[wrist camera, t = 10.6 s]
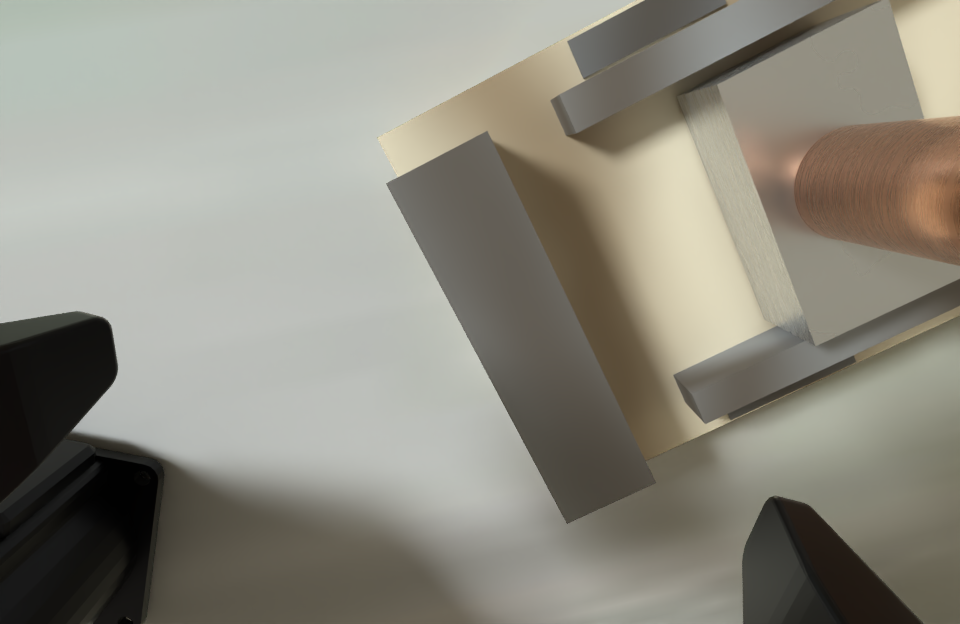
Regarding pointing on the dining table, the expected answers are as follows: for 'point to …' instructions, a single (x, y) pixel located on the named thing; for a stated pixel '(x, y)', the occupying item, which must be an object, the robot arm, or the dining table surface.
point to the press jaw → (831, 175)
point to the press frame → (627, 236)
